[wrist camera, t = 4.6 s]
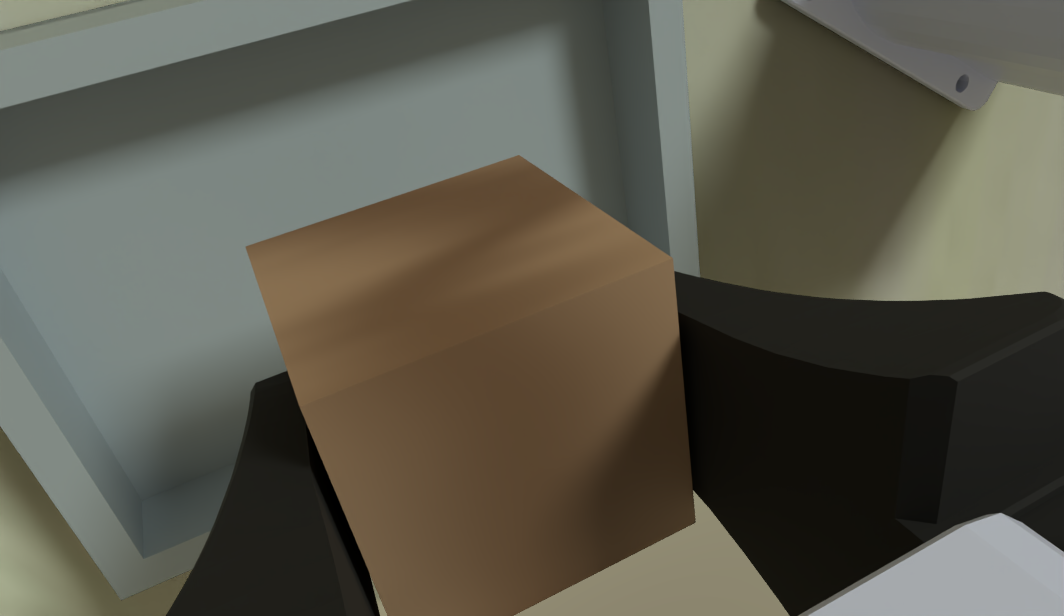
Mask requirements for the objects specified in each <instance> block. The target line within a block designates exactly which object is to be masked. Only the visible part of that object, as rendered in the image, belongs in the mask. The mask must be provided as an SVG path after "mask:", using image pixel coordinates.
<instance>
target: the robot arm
mask: <svg viewBox="0 0 1064 616" xmlns="http://www.w3.org/2000/svg"><path fill="white" fill-rule="evenodd" d="M781 1H782V2H784V3H786V4H787V5H789V6H791V7H793V8H794V9H796V10H798V11H799V12H801V13H803V14H804V15H806V16H808V17H809V18H811V19H813V20H814V21H816V22H818V23H820V24H821V25H823V26H825V27H826V28H828V29H830V30H831V31H833V32H835V33H836V34H838V35H840V36H842V37H843V38H845V39H847V40H848V41H850V42H852V43H853V44H855V45H857V46H858V47H860V48H862V49H863V50H865V51H867V52H869V53H870V54H872V55H874V56H875V57H877V58H879V59H880V60H882V61H884V62H885V63H887V64H889V65H891V66H892V67H894V68H896V69H897V70H899V71H901V72H902V73H904V74H906V75H907V76H909V77H911V78H913V79H914V80H916V81H918V82H919V83H921V84H923V85H924V86H926V87H928V88H929V89H931V90H933V91H934V92H936V93H938V94H940V95H941V96H943V97H945V98H946V99H948V100H950V101H951V102H953V103H955V104H956V105H958V106H960V107H962V108H965V109H969V110H973V111H975V110H977V109H979V108H981V107H982V106H983V105H984V104H985V103H986V102H987V100H988V99H989V97H990V95H991V93H992V91H993V90H994V88H995V86H996V84H997V82H1002V83H1007V84H1011V85H1016V86H1020V87H1025V88H1029V89H1034V90H1038V91H1043V92H1047V93H1052V94H1056V95H1061V96H1064V0H781ZM674 276H675V287H676V299H677V311H678V323H679V334H680V346H681V358H682V369H683V381H684V393H685V405H686V416H687V428H688V440H689V451H690V463H691V475H692V487H693V490H694V491H695V493H696V494H697V495H698V496H699V497H700V498H701V499H702V500H703V502H704V503H705V504H706V505H707V506H708V507H709V508H710V509H711V511H712V512H713V513H714V515H715V516H716V517H717V519H718V520H719V521H720V522H721V524H722V525H723V526H724V527H725V529H726V530H727V531H728V533H729V534H730V535H731V536H732V538H733V539H734V540H735V542H736V543H737V544H738V545H739V547H740V548H741V549H742V551H743V552H744V553H745V555H746V556H747V557H748V559H749V560H750V561H751V563H752V564H753V566H754V567H755V568H756V570H757V571H758V572H759V574H760V575H761V576H762V578H763V579H764V580H765V582H766V583H767V585H768V586H769V587H770V589H771V590H772V591H773V593H774V594H775V595H776V597H777V598H778V599H779V601H780V602H781V604H782V605H783V607H784V608H785V610H786V611H787V612H788V614H789V615H790V616H1064V299H1062V298H1060V297H1058V296H1056V295H1054V294H1051V293H1048V292H1035V293H1024V294H1014V295H1003V296H993V297H983V298H972V299H957V300H929V301H873V300H848V299H832V298H819V297H810V296H802V295H794V294H785V293H777V292H771V291H764V290H758V289H753V288H748V287H743V286H738V285H732V284H727V283H722V282H718V281H714V280H709V279H705V278H701V277H696V276H692V275H688V274H684V273H680V272H676V271H674ZM166 616H380V614H379V610H378V606H377V602H376V598H375V593H374V589H373V585H372V581H371V577H370V573H369V570H368V568H367V566H366V563H365V561H364V559H363V556H362V554H361V551H360V549H359V547H358V544H357V542H356V540H355V537H354V535H353V532H352V530H351V528H350V525H349V523H348V521H347V518H346V516H345V513H344V511H343V509H342V506H341V504H340V502H339V499H338V497H337V494H336V492H335V490H334V487H333V485H332V483H331V480H330V478H329V475H328V473H327V471H326V468H325V466H324V464H323V461H322V459H321V457H320V454H319V452H318V449H317V447H316V445H315V442H314V440H313V438H312V435H311V433H310V430H309V428H308V426H307V423H306V421H305V419H304V416H303V414H302V411H301V409H300V407H299V404H298V401H297V398H296V395H295V392H294V389H293V386H292V383H291V380H290V377H289V374H288V371H285V372H282V373H280V374H277V375H275V376H272V377H269V378H267V379H264V380H261V381H259V382H256V383H255V385H254V386H253V388H252V390H251V392H250V403H249V409H248V415H247V420H246V425H245V429H244V434H243V438H242V442H241V445H240V449H239V452H238V456H237V459H236V463H235V467H234V470H233V473H232V476H231V479H230V482H229V485H228V488H227V491H226V493H225V496H224V499H223V501H222V504H221V507H220V509H219V512H218V515H217V518H216V520H215V522H214V525H213V527H212V529H211V532H210V534H209V536H208V539H207V541H206V543H205V545H204V547H203V549H202V551H201V553H200V555H199V557H198V559H197V561H196V563H195V565H194V567H193V569H192V571H191V573H190V575H189V577H188V579H187V581H186V582H185V584H184V586H183V588H182V589H181V591H180V593H179V595H178V596H177V598H176V600H175V602H174V603H173V605H172V607H171V608H170V610H169V611H168V613H167V615H166Z"/></svg>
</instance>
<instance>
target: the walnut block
mask: <svg viewBox="0 0 1064 616" xmlns="http://www.w3.org/2000/svg"><path fill="white" fill-rule="evenodd" d="M245 247H246V250H247V253H248V256H249V259H250V262H251V265H252V268H253V271H254V274H255V277H256V280H257V283H258V286H259V289H260V292H261V294H262V297H263V300H264V303H265V306H266V309H267V312H268V315H269V318H270V321H271V324H272V327H273V330H274V333H275V336H276V339H277V342H278V345H279V348H280V351H281V353H282V356H283V359H284V362H285V365H286V368H287V371H288V374H289V377H290V380H291V383H292V386H293V389H294V392H295V395H296V398H297V401H298V404H299V407H300V409H301V411H302V414H303V416H304V419H305V421H306V423H307V426H308V428H309V430H310V433H311V435H312V438H313V440H314V442H315V445H316V447H317V449H318V452H319V454H320V457H321V459H322V461H323V464H324V466H325V468H326V471H327V473H328V475H329V478H330V480H331V483H332V485H333V487H334V490H335V492H336V494H337V497H338V499H339V502H340V504H341V506H342V509H343V511H344V513H345V516H346V518H347V521H348V523H349V525H350V528H351V530H352V532H353V535H354V537H355V540H356V542H357V544H358V547H359V549H360V551H361V554H362V556H363V559H364V561H365V563H366V566H367V568H368V570H369V573H370V575H371V578H372V580H373V582H374V585H375V587H376V589H377V592H378V594H379V597H380V599H381V601H382V604H383V606H384V608H385V611H386V613H387V616H514V615H516V614H517V613H519V612H521V611H523V610H525V609H527V608H529V607H531V606H533V605H535V604H537V603H539V602H541V601H543V600H545V599H547V598H549V597H551V596H553V595H555V594H557V593H559V592H561V591H562V590H564V589H566V588H568V587H570V586H572V585H574V584H576V583H578V582H580V581H582V580H584V579H586V578H588V577H590V576H592V575H594V574H596V573H598V572H600V571H602V570H604V569H605V568H607V567H609V566H611V565H613V564H615V563H617V562H619V561H621V560H623V559H625V558H627V557H629V556H631V555H633V554H635V553H637V552H639V551H641V550H642V549H645V548H647V547H648V546H651V545H652V544H654V543H656V542H658V541H660V540H662V539H664V538H666V537H668V536H670V535H672V534H674V533H676V532H678V531H680V530H682V529H684V528H686V527H688V526H690V525H692V524H694V523H695V510H694V499H693V487H692V475H691V463H690V451H689V440H688V428H687V416H686V405H685V393H684V381H683V369H682V358H681V346H680V334H679V323H678V311H677V299H676V287H675V276H674V264H673V258H672V257H670V256H669V255H667V254H666V253H664V252H663V251H661V250H660V249H658V248H657V247H656V246H654V245H653V244H651V243H650V242H648V241H647V240H645V239H644V238H642V237H641V236H639V235H638V234H636V233H635V232H633V231H632V230H630V229H629V228H627V227H626V226H624V225H623V224H621V223H620V222H618V221H617V220H615V219H614V218H612V217H611V216H609V215H608V214H606V213H605V212H603V211H602V210H600V209H599V208H597V207H596V206H594V205H593V204H591V203H590V202H589V201H587V200H586V199H584V198H583V197H581V196H580V195H578V194H577V193H575V192H574V191H572V190H571V189H569V188H568V187H566V186H565V185H563V184H562V183H560V182H559V181H557V180H556V179H554V178H553V177H551V176H550V175H548V174H547V173H545V172H544V171H542V170H541V169H539V168H538V167H536V166H535V165H533V164H532V163H530V162H529V161H527V160H526V159H524V158H523V157H522V156H520V155H517V156H514V157H511V158H508V159H505V160H502V161H499V162H496V163H493V164H490V165H487V166H484V167H481V168H478V169H476V170H473V171H470V172H467V173H464V174H461V175H458V176H455V177H452V178H449V179H446V180H443V181H440V182H437V183H434V184H431V185H428V186H425V187H422V188H419V189H416V190H413V191H410V192H407V193H404V194H401V195H398V196H395V197H392V198H389V199H386V200H383V201H380V202H377V203H374V204H371V205H368V206H365V207H362V208H359V209H356V210H353V211H350V212H347V213H344V214H341V215H338V216H335V217H332V218H329V219H326V220H323V221H320V222H317V223H314V224H311V225H308V226H305V227H302V228H299V229H296V230H293V231H290V232H287V233H284V234H281V235H278V236H275V237H272V238H269V239H266V240H263V241H260V242H257V243H254V244H251V245H248V246H245Z"/></svg>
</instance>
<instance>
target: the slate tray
mask: <svg viewBox="0 0 1064 616" xmlns="http://www.w3.org/2000/svg"><path fill="white" fill-rule="evenodd" d="M517 155H520V156H522V157H523V158H524V159H526V160H527V161H529V162H530V163H532V164H533V165H535V166H536V167H538V168H539V169H541V170H542V171H544V172H545V173H547V174H548V175H550V176H551V177H553V178H554V179H556V180H557V181H559V182H560V183H562V184H563V185H565V186H566V187H568V188H569V189H571V190H572V191H574V192H575V193H577V194H578V195H580V196H581V197H583V198H584V199H586V200H587V201H589V202H590V203H591V204H593V205H594V206H596V207H597V208H599V209H600V210H602V211H603V212H605V213H606V214H608V215H609V216H611V217H612V218H614V219H615V220H617V221H618V222H620V223H621V224H623V225H624V226H626V227H627V228H629V229H630V230H632V231H633V232H635V233H636V234H638V235H639V236H641V237H642V238H644V239H645V240H647V241H648V242H650V243H651V244H653V245H654V246H656V247H657V248H658V249H660V250H661V251H663V252H664V253H666V254H667V255H669V256H670V257H672V258H673V264H674V271H676V272H680V273H684V274H688V275H692V276H696V277H700V267H699V252H698V237H697V221H696V206H695V190H694V175H693V159H692V144H691V128H690V113H689V97H688V82H687V66H686V51H685V36H684V20H683V5H682V0H129V1H125V2H121V3H117V4H113V5H108V6H104V7H100V8H96V9H92V10H88V11H83V12H79V13H75V14H71V15H67V16H62V17H58V18H54V19H50V20H46V21H41V22H37V23H33V24H29V25H25V26H21V27H16V28H12V29H8V30H4V31H0V427H1V428H2V429H3V431H4V432H5V434H6V435H7V437H8V438H9V439H10V441H11V442H12V444H13V445H14V447H15V448H16V450H17V451H18V452H19V454H20V455H21V457H22V458H23V460H24V461H25V463H26V464H27V465H28V467H29V468H30V470H31V471H32V473H33V474H34V476H35V477H36V478H37V480H38V481H39V483H40V484H41V486H42V487H43V488H44V490H45V491H46V493H47V494H48V496H49V497H50V499H51V500H52V501H53V503H54V504H55V506H56V507H57V509H58V510H59V512H60V513H61V514H62V516H63V517H64V519H65V520H66V522H67V523H68V524H69V526H70V527H71V529H72V530H73V532H74V533H75V535H76V536H77V537H78V539H79V540H80V542H81V543H82V545H83V546H84V548H85V549H86V550H87V552H88V553H89V555H90V556H91V558H92V559H93V561H94V562H95V563H96V565H97V566H98V568H99V569H100V571H101V572H102V573H103V575H104V576H105V578H106V579H107V581H108V582H109V584H110V585H111V586H112V588H113V589H114V591H115V592H116V594H117V595H118V597H119V598H120V599H121V600H123V599H125V598H128V597H130V596H132V595H135V594H137V593H139V592H141V591H144V590H146V589H148V588H151V587H153V586H155V585H157V584H160V583H162V582H164V581H167V580H169V579H171V578H174V577H176V576H178V575H180V574H183V573H185V572H187V571H190V570H192V569H193V567H194V565H195V563H196V561H197V559H198V557H199V555H200V553H201V551H202V549H203V547H204V545H205V543H206V541H207V539H208V536H209V534H210V532H211V529H212V527H213V525H214V522H215V520H216V518H217V515H218V512H219V509H220V507H221V504H222V501H223V499H224V496H225V493H226V491H227V488H228V485H229V482H230V479H231V476H232V473H233V470H234V467H235V463H236V459H237V456H238V452H239V449H240V445H241V442H242V438H243V434H244V429H245V425H246V420H247V415H248V409H249V403H250V392H251V390H252V388H253V386H254V385H255V383H256V382H259V381H261V380H264V379H267V378H269V377H272V376H275V375H277V374H280V373H282V372H285V371H287V368H286V365H285V362H284V359H283V356H282V353H281V351H280V348H279V345H278V342H277V339H276V336H275V333H274V330H273V327H272V324H271V321H270V318H269V315H268V312H267V309H266V306H265V303H264V300H263V297H262V294H261V292H260V289H259V286H258V283H257V280H256V277H255V274H254V271H253V268H252V265H251V262H250V259H249V256H248V253H247V250H246V247H245V246H248V245H251V244H254V243H257V242H260V241H263V240H266V239H269V238H272V237H275V236H278V235H281V234H284V233H287V232H290V231H293V230H296V229H299V228H302V227H305V226H308V225H311V224H314V223H317V222H320V221H323V220H326V219H329V218H332V217H335V216H338V215H341V214H344V213H347V212H350V211H353V210H356V209H359V208H362V207H365V206H368V205H371V204H374V203H377V202H380V201H383V200H386V199H389V198H392V197H395V196H398V195H401V194H404V193H407V192H410V191H413V190H416V189H419V188H422V187H425V186H428V185H431V184H434V183H437V182H440V181H443V180H446V179H449V178H452V177H455V176H458V175H461V174H464V173H467V172H470V171H473V170H476V169H478V168H481V167H484V166H487V165H490V164H493V163H496V162H499V161H502V160H505V159H508V158H511V157H514V156H517Z"/></svg>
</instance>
